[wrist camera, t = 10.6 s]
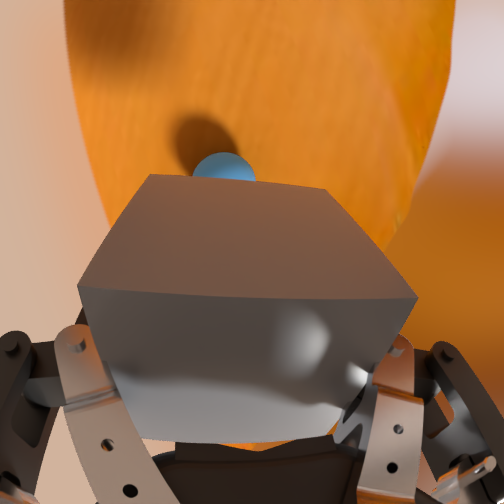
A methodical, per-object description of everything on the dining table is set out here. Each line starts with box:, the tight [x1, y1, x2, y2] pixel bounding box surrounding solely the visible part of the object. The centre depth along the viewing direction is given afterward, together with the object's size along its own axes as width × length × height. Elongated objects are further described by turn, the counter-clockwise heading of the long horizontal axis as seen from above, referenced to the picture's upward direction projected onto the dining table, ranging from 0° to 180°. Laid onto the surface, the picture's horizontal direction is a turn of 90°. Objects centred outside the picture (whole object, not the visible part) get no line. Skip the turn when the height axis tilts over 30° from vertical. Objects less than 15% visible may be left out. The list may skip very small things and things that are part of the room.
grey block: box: [77, 174, 418, 443], centre depth 9 cm, size 7×7×7 cm
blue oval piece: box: [193, 152, 256, 181], centre depth 22 cm, size 5×5×5 cm
